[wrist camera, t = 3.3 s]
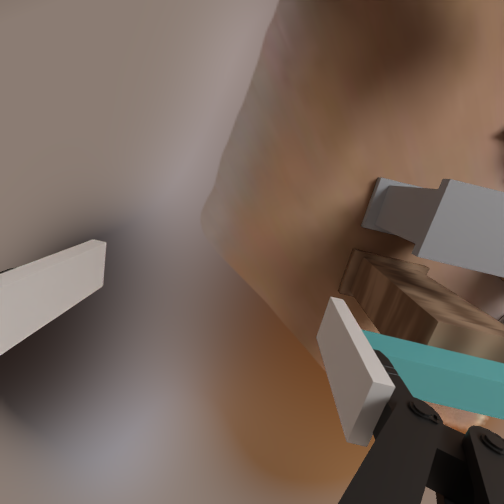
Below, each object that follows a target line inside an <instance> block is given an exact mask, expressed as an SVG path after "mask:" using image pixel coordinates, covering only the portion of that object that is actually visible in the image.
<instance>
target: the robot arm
mask: <svg viewBox="0 0 504 504" xmlns="http://www.w3.org/2000/svg"><path fill="white" fill-rule="evenodd" d="M105 253H106V242H102V241H98V240H94V239H93V240H90V241H87V242H85V243H82V244H79V245H77V246H74V247H71V248H69V249H66V250H63V251H61V252H58V253H55V254H53V255H50V256H47V257H44V258H42V259H39V260H37V261H34V262H31V263H28V264H26V265H23V266H20V267H17V268H11V269H7V270H5V271H2V272H0V355H1V354H3V353H4V352H6V351H7V350H9V349H10V348H12V347H13V346H15V345H16V344H18V343H19V342H21V341H22V340H24V339H25V338H27V337H28V336H29V335H31V334H32V333H34V332H35V331H37V330H38V329H40V328H41V327H43V326H44V325H46V324H47V323H49V322H50V321H51V320H53V319H55V318H56V317H58V316H59V315H61V314H62V313H64V312H65V311H67V310H68V309H70V308H71V307H72V306H74V305H75V304H77V303H78V302H80V301H81V300H83V299H84V298H86V297H87V296H89V295H90V294H92V293H93V292H95V291H96V290H98V289H99V288H101V287H102V286H103V278H104V277H103V276H104V265H105ZM316 338H317V341H318V345H319V348H320V352H321V355H322V359H323V362H324V366H325V369H326V372H327V375H328V379H329V383H330V386H331V389H332V393H333V396H334V400H335V403H336V407H337V410H338V413H339V417H340V420H341V424H342V427H343V431H344V434H345V438H346V441H347V442H349V443H353V444H358V445H362V446H366V447H367V446H368V444H369V442H370V440H371V437H372V435H374V438H375V442H374V444H373V445H372V447H371V449H370V451H369V452H368V454H367V456H366V457H365V459H364V461H363V462H362V464H361V466H360V467H359V469H358V471H357V473H356V474H355V476H354V478H353V479H352V481H351V483H350V484H349V486H348V488H347V489H346V491H345V493H344V494H343V496H342V498H341V500H340V501H339V503H338V504H420V503H421V500H422V496H423V493H424V490H425V486H426V487H428V488H430V489H432V490H433V491H435V492H436V499H437V504H504V439H502V438H501V437H500V436H499V435H497V434H495V433H493V432H491V431H490V430H488V429H485V428H483V427H480V426H474V425H473V426H471V427H470V428H469V429H468V431H467V432H466V434H463V433H461V432H459V431H457V430H454V429H452V428H450V427H448V426H446V425H444V424H443V421H442V419H441V417H440V416H439V414H438V413H437V412H436V411H435V410H434V409H433V408H432V407H430V406H429V405H428V404H426V403H425V402H423V401H421V400H420V399H418V398H415V397H413V396H412V394H411V393H410V391H409V390H408V388H407V386H406V385H405V383H404V382H403V380H402V379H401V377H400V376H399V374H398V373H397V371H396V370H395V369H394V366H393V365H392V363H391V362H390V360H389V359H388V358H387V357H386V356H385V355H384V354H383V353H382V352H381V351H379V350H375V349H372V347H371V345H370V343H369V342H368V340H367V338H366V337H365V335H364V333H363V332H362V330H361V328H360V327H359V325H358V323H357V322H356V320H355V318H354V317H353V315H352V313H351V312H350V310H349V308H348V306H347V305H346V303H345V301H344V300H343V299H339V298H335V297H330V299H329V302H328V305H327V308H326V311H325V314H324V316H323V319H322V322H321V325H320V328H319V331H318V334H317V337H316Z"/></svg>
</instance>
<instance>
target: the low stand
mask: <svg viewBox="0 0 504 504" xmlns="http://www.w3.org/2000/svg"><path fill="white" fill-rule="evenodd" d="M361 226H362V227H364V228H368V229H372V230H376V231H380V232H385V233H389V234H393V235H397V236H400V237H402V238H404V239H406V240H408V241H410V242H413V243H415V246H414V249H413V251H412V254H413V255H415V256H417V257H421V258H425V259H429V260H433V261H437V262H441V263H446V264H450V265H454V266H458V267H462V268H466V269H470V270H475V271H479V272H483V273H487V274H491V275H495V276H499V277H503V278H504V192H501V191H497V190H493V189H488V188H484V187H480V186H476V185H472V184H468V183H464V182H460V181H456V180H452V179H442V182H441V184H440V187H439V189H428V188H422V187H418V186H414V185H410V184H405V183H401V182H397V181H393V180H389V179H385V178H379V177H378V179H377V182H376V185H375V188H374V191H373V194H372V196H371V199H370V202H369V205H368V208H367V211H366V213H365V216H364V219H363V222H362V225H361Z"/></svg>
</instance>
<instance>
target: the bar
mask: <svg viewBox="0 0 504 504" xmlns="http://www.w3.org/2000/svg"><path fill="white" fill-rule="evenodd" d="M362 332H363V333H364V335H365V337H366V338H367V340H368V342H369V343H370V345H371V347H372V349H375V350H379V351H381V352H382V353H383V354H384V355H385V356H386V357H387V358H388V359H389V360H390V362H391V363H392V365H393V366H394V369H395V370H396V371H397V373H398V374H399V376H400V377H401V379H402V380H403V382H404V383H405V385H406V386H407V388H408V390H409V391H410V393H411V394H412V396H413V397H415V398H418V399H420V400H423V401H427V402H431V403H436V404H440V405H444V406H448V407H453V408H457V409H461V410H466V411H470V412H474V413H478V414H483V415H487V416H491V417H496V418H500V419H504V363H500V362H495V361H491V360H487V359H483V358H479V357H474V356H470V355H466V354H462V353H458V352H453V351H449V350H445V349H441V348H437V347H432V346H428V345H424V344H420V343H416V342H411V341H407V340H403V339H399V338H395V337H390V336H386V335H382V334H378V333H374V332H369V331H365V330H362Z"/></svg>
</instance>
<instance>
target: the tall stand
mask: <svg viewBox="0 0 504 504" xmlns="http://www.w3.org/2000/svg"><path fill="white" fill-rule="evenodd" d="M428 271H429V268H428V267H426V266H423V265H419V264H415V263H411V262H407V261H403V260H398V259H394V258H390V257H386V256H382V255H378V254H374V253H370V252H365V251H361V250H357V249H353V250H352V253H351V256H350V259H349V261H348V264H347V267H346V270H345V273H344V276H343V278H342V281H341V284H340V287H339V290H338V291H339V293H341V294H345V295H349V296H353V297H355V299H356V300H357V301H358V303H359V304H360V306H361V307H362V308H363V310H364V311H365V313H366V314H367V315H368V317H369V318H370V319H371V321H372V322H373V324H374V325H375V326H376V328H377V329H378V331H379V332H380V333H381V334H382V335H386V336H390V337H395V338H399V339H403V340H407V341H411V342H416V343H420V344H424V345H428V346H432V347H437V348H441V349H445V350H449V351H453V352H458V353H462V354H466V355H470V356H474V357H479V358H483V359H487V360H491V361H495V362H500V363H504V324H502V323H501V322H499V321H498V320H496V319H494V318H493V317H491V316H490V315H488V314H486V313H485V312H483V311H482V310H480V309H479V308H477V307H475V306H474V305H472V304H471V303H469V302H467V301H466V300H464V299H463V298H461V297H460V296H458V295H456V294H455V293H453V292H452V291H450V290H448V289H447V288H445V287H444V286H442V285H441V284H439V283H437V282H436V281H434V280H433V279H431V278H429V277H428V276H426V275H427V273H428Z"/></svg>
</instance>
